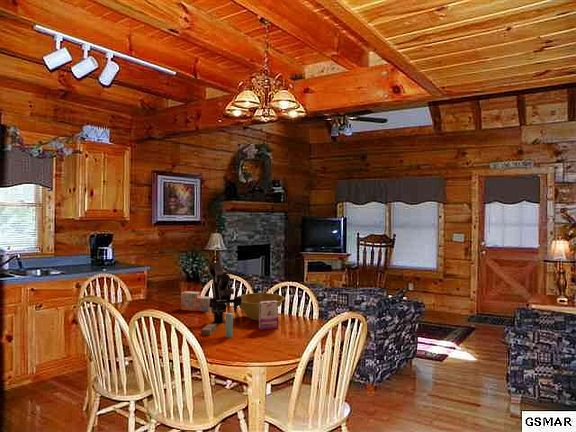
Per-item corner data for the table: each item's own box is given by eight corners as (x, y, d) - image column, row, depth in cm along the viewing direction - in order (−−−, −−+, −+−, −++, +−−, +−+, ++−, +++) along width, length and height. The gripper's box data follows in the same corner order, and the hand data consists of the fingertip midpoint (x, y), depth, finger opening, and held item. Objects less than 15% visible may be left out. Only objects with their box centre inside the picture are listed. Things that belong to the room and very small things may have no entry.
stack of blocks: (212, 309, 324) (212, 292, 323) (208, 311, 318) (208, 294, 317) (185, 307, 330) (185, 290, 329) (180, 309, 324) (180, 292, 323)
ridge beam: (208, 328, 275) (208, 323, 275) (216, 328, 275) (216, 324, 274) (201, 335, 261) (201, 330, 261) (209, 335, 261) (209, 330, 261)
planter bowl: (262, 327, 279) (262, 305, 279) (225, 318, 298) (225, 298, 298) (293, 316, 305) (294, 296, 304) (257, 309, 324) (257, 290, 324)
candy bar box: (276, 326, 280) (276, 300, 280) (278, 328, 276) (278, 301, 275) (258, 327, 277) (258, 301, 277) (260, 330, 273) (260, 302, 272)
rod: (226, 335, 261) (226, 312, 261) (233, 335, 261) (233, 313, 260) (224, 337, 257) (224, 314, 257) (231, 337, 257) (231, 314, 257)
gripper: (209, 284, 265) (213, 307, 255) (241, 282, 271) (245, 305, 261) (207, 295, 273) (210, 318, 262) (238, 293, 279) (242, 315, 269)
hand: (227, 314), depth 263 cm, fingers open, 9 cm apart
